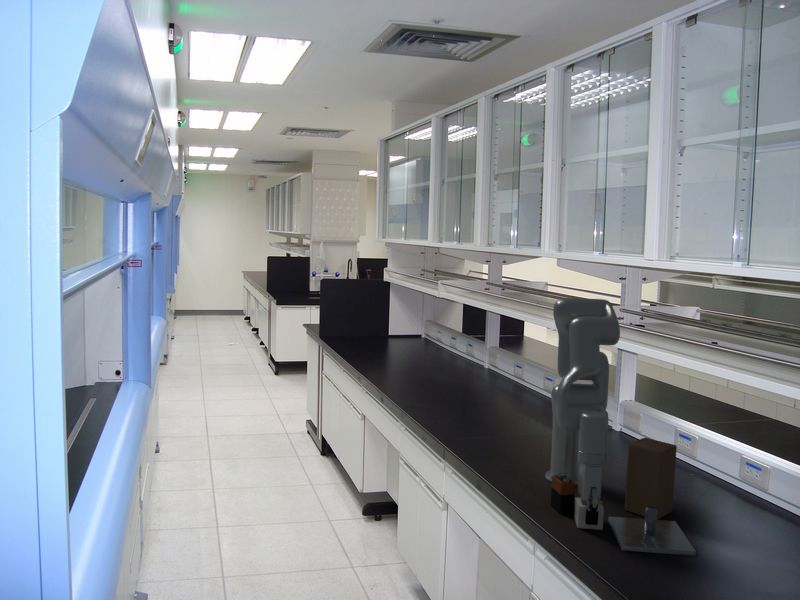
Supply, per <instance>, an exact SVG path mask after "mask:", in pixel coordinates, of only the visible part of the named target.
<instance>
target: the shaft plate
mask: <svg viewBox="0 0 800 600" xmlns="http://www.w3.org/2000/svg"><path fill="white" fill-rule="evenodd" d="M657 510H658V509H657V508H656V507H653V506H646V508H645V517H644V518H637V517H635V518H633V517H620V516H619V517H618V516H608V519H607V521H608V523H609V525H610V527H611V529H612V532H613V534H614V536H615V538H616V540H617V543H618V545H619V547H620V549H621V551H626V552H627V551H629V552H638V553H641V552H642V553H643V552H644V553H651V554H652V553H654V554H669V555H680V556H693V557H694V556H696V554H697V552H696V549H695V547H694V546H693V545H692V543H691V542H690V540H689V538H687V536H686V535H685V533H684V532H683V530H682V529H681V527H680V526H679V524H678V523H677V522H676V520H663V519H658V520H657Z"/></svg>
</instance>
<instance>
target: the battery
mask: <svg viewBox="0 0 800 600" xmlns="http://www.w3.org/2000/svg"><path fill="white" fill-rule="evenodd" d="M550 489H551V490H550V492H551V493H550V505H551V507H553V509H554V510H556V511H557V512H558V513H559V514H560V515H563V514H566V515H567V514H573V513H575V497H576V496H575V494H576V486H575V482H573V481H572V480H571V479H569V478H568V477H567V476H566V475H565V474H564V473H558V475H554V476H552V482H551V488H550Z"/></svg>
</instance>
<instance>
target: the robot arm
mask: <svg viewBox="0 0 800 600" xmlns="http://www.w3.org/2000/svg"><path fill="white" fill-rule="evenodd" d="M552 311H553V312H552V313H553V320H554V323H555V326H556V330H557V333H558V335H557V336H558V342H557V373H558V375H559V377H560V378H562V379H561V381H560V382H559V384H557V385H555V386H554V387H553V388H552V390H551V393H550V395H551V397H550V398H551V406H552V407H551V408H552V435H551V455H550V456H551V457H550V469H549V470H547V471H546V472H545V475H544V476H545V479H546V480H547V481H549V482H551V483H552V476H554V475H558V473H564V474H565V475H566V476H567V477H568V478H569V479H571V480H572V481H573V482H575V487H576V486H577V493H578V494H579V498H581V499H582V500H583V501H585V500H587V509H586V520H585V523H586V524H587V525H598V513H599V511H598V502H599V501H601V495H602V483H603V482H602V480H603V479H602V476H603V472H602V471H603V467H604V466H606V464H607V453H608V452H607V451H608V436H609V413H608V411H607V408H608V400H609V381H610V378H609V377H610V364H609V358H608V356H607V354H606V353H605V352H603V351H601V350H600V347H601V346H615V345H617V344H618V342H619V340H620V336H621V327H620V324H619V323H620V322H619V319H618V317H617V314H616V312H615V309H614V307H613V305H612V303H611V302H610V300H608V299H602V298H582V297H579V298H578V297H566V298H565V297H564V298H561V299H558V300H556V301H555V303H554V305H553V310H552ZM577 381H591V382H592V383H591V384H590V383H575V382H577ZM589 498H592V499H589ZM590 502H592V503H591V504H590Z"/></svg>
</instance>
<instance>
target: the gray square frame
mask: <svg viewBox="0 0 800 600" xmlns="http://www.w3.org/2000/svg"><path fill="white" fill-rule="evenodd" d="M589 499H592V498H589ZM591 503H592V502H590V504H591ZM586 509H587V500H585V501H583V500H582V499H581V498H580V497H576V496H575V497H574V516H573V517H574V521H575V525H576V527H577V529H588V530H589V529H590V530H601V531H603V530H604V529H603V527H604V513H605V512H604V511H605V509H604V506H603V501H602V500H600V501H599V502H598V511H599V513H598V525H587V524H586V523H585V520H586Z"/></svg>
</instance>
